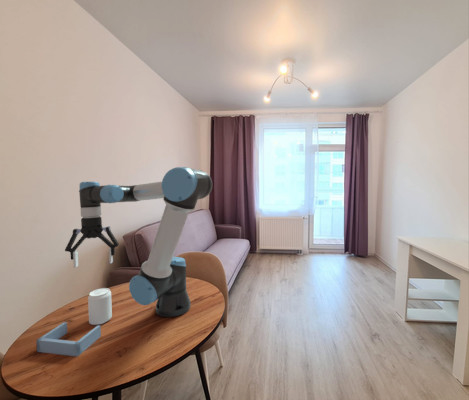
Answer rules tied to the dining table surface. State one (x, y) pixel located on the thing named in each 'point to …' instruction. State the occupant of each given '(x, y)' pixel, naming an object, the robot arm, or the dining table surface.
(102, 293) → the beverage can
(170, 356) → the dining table surface
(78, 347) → the corral
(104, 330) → the dining table surface
